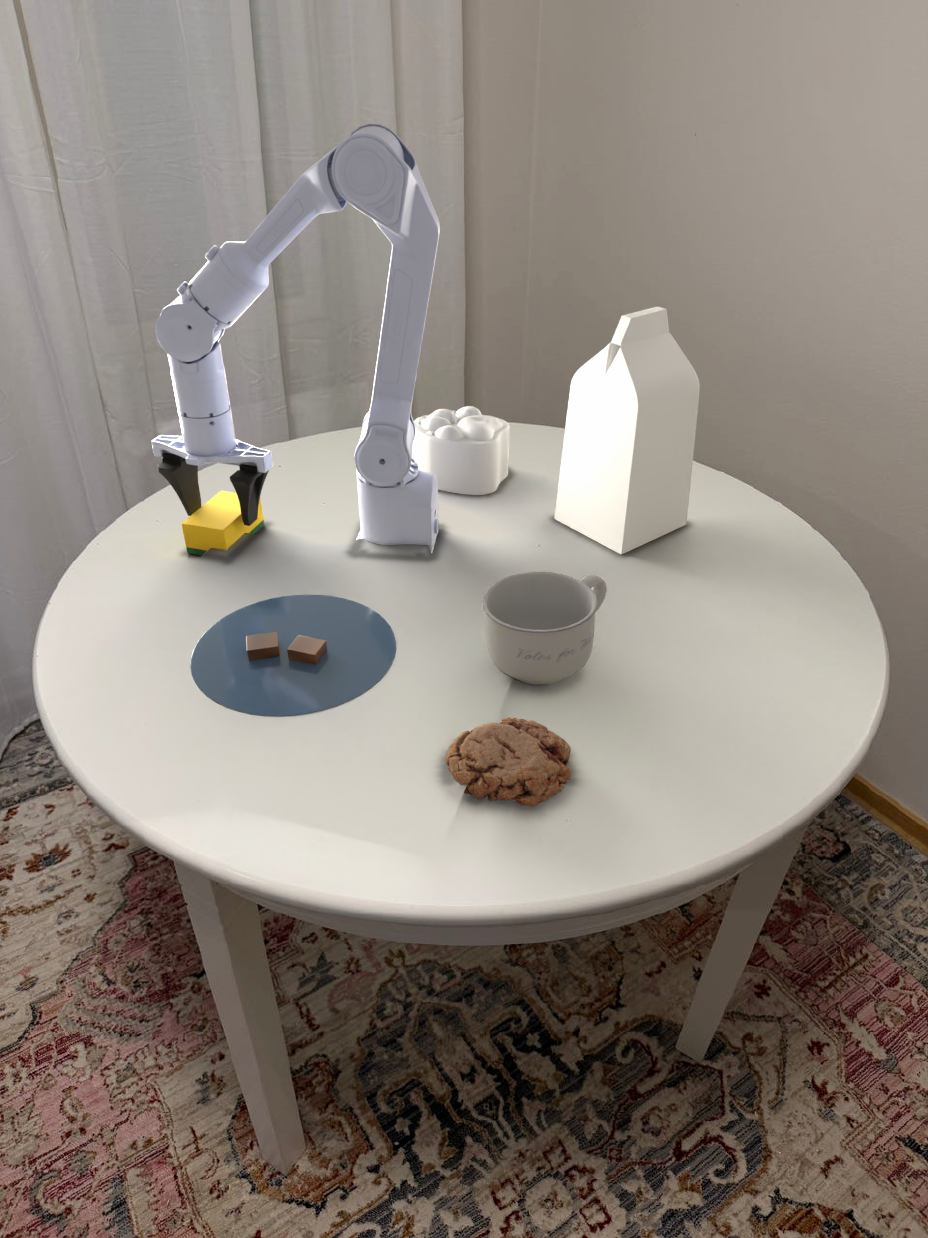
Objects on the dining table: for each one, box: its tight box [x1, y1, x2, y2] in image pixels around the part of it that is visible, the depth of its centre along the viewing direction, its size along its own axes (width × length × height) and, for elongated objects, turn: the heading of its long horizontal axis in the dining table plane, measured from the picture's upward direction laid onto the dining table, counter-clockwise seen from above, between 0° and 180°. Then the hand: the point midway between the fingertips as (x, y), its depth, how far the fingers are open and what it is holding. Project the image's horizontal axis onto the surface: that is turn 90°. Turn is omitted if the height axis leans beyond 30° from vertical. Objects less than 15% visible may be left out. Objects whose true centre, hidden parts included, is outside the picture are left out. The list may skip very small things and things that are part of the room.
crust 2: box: [287, 635, 327, 665], centre depth 85 cm, size 3×2×1 cm
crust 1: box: [246, 632, 280, 660], centre depth 86 cm, size 3×2×1 cm
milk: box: [553, 305, 701, 555], centre depth 104 cm, size 12×12×26 cm
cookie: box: [445, 716, 572, 807], centre depth 74 cm, size 10×11×3 cm
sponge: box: [181, 490, 265, 556], centre depth 106 cm, size 6×9×4 cm, turn 163°
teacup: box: [481, 571, 608, 685], centre depth 85 cm, size 14×11×8 cm
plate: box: [189, 593, 397, 718], centre depth 87 cm, size 20×20×1 cm
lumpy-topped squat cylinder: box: [412, 405, 511, 496], centre depth 120 cm, size 10×13×9 cm
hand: (222, 517), depth 106 cm, fingers open, 7 cm apart
